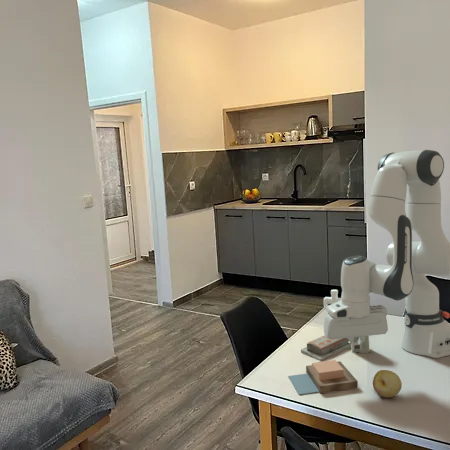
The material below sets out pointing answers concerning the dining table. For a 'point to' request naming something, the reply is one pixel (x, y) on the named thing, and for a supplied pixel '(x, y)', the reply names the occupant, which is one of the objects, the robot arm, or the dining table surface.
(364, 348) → the skincare box
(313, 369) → the terracotta tile
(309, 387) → the slate mat
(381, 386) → the fruit
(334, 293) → the figurine
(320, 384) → the walnut stand
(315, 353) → the packaged product
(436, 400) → the dining table surface
